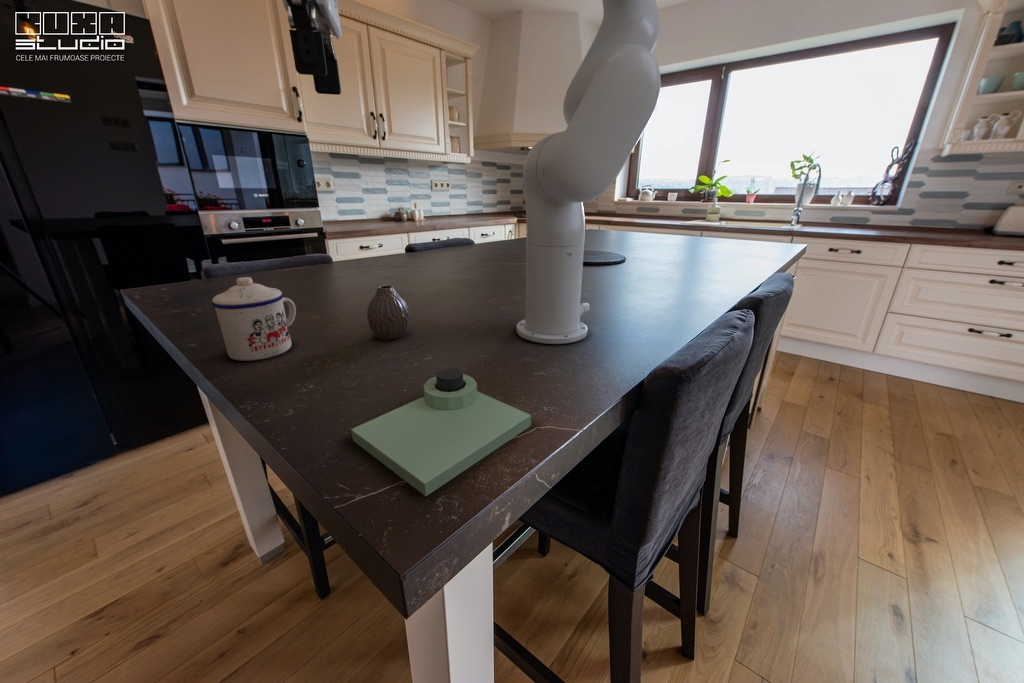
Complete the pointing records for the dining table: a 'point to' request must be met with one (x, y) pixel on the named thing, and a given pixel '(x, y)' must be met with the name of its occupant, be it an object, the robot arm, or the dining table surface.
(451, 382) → the button
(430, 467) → the scale
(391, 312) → the vase
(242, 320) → the teacup with lid
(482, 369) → the dining table surface
